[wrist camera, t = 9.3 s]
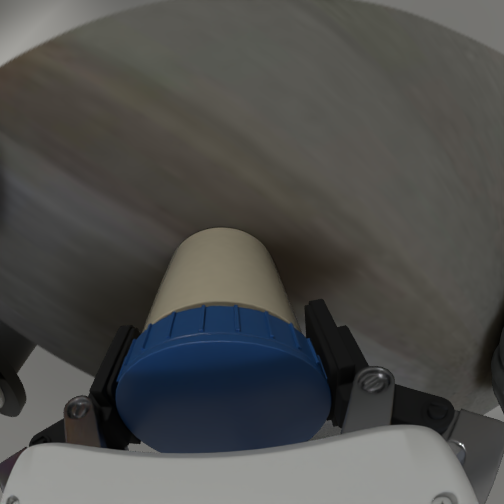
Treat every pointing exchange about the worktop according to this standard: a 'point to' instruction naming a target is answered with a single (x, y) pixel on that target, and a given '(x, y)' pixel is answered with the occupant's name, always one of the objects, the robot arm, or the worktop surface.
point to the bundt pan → (498, 371)
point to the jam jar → (221, 277)
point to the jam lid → (222, 383)
